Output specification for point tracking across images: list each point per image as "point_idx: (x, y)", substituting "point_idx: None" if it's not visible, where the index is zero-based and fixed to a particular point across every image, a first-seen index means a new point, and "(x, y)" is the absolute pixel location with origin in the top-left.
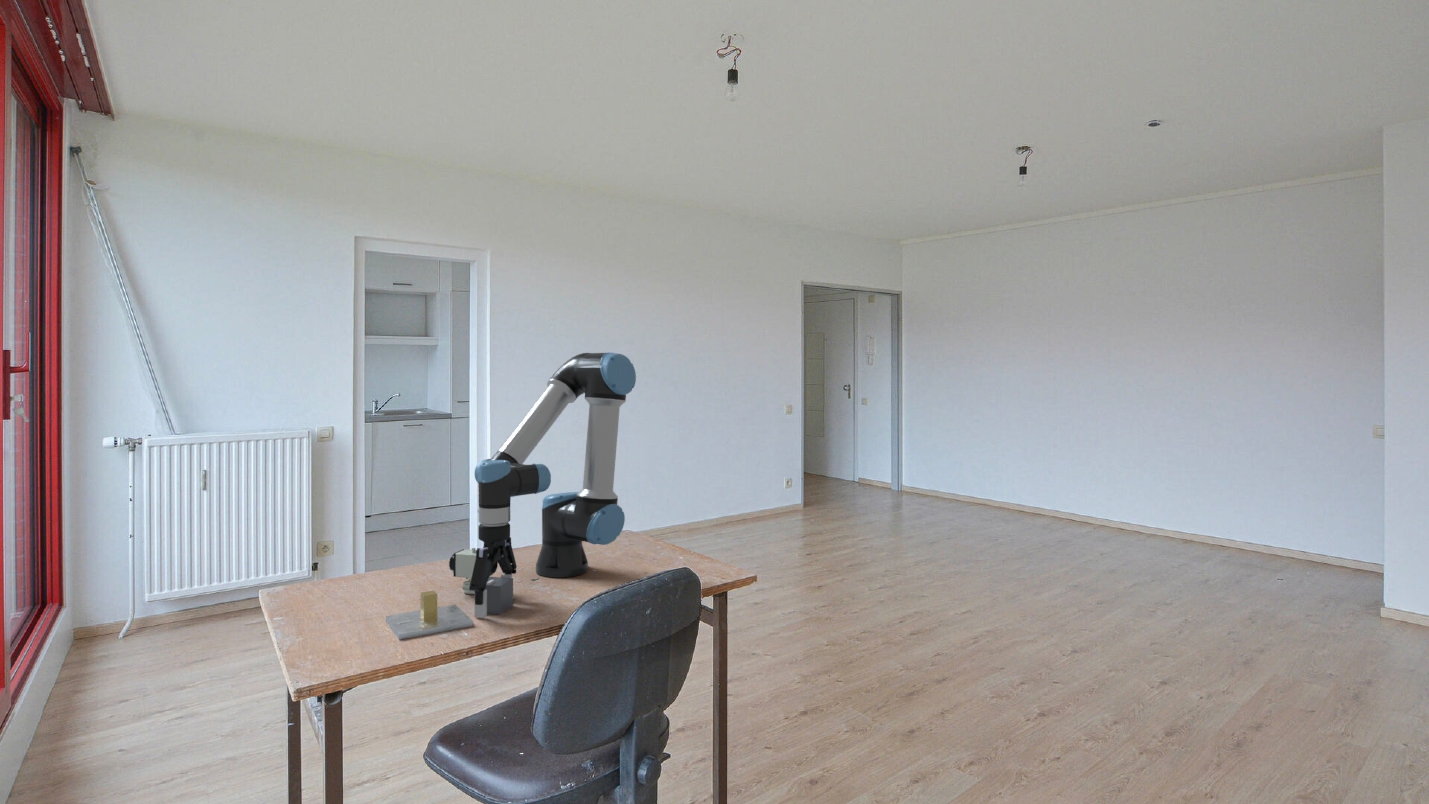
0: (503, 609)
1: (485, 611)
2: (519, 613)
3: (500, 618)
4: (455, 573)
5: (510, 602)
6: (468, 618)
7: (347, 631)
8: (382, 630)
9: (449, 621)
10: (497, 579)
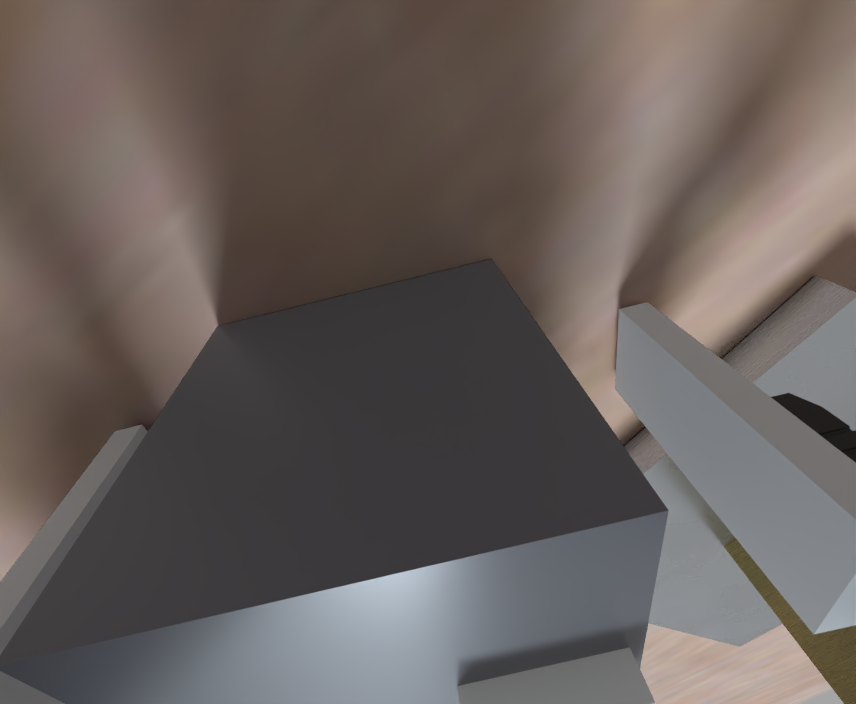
0: (435, 286)
1: (682, 332)
2: (367, 81)
3: (590, 184)
4: None
5: (263, 339)
6: (791, 362)
7: None
8: None
9: (852, 424)
10: None
